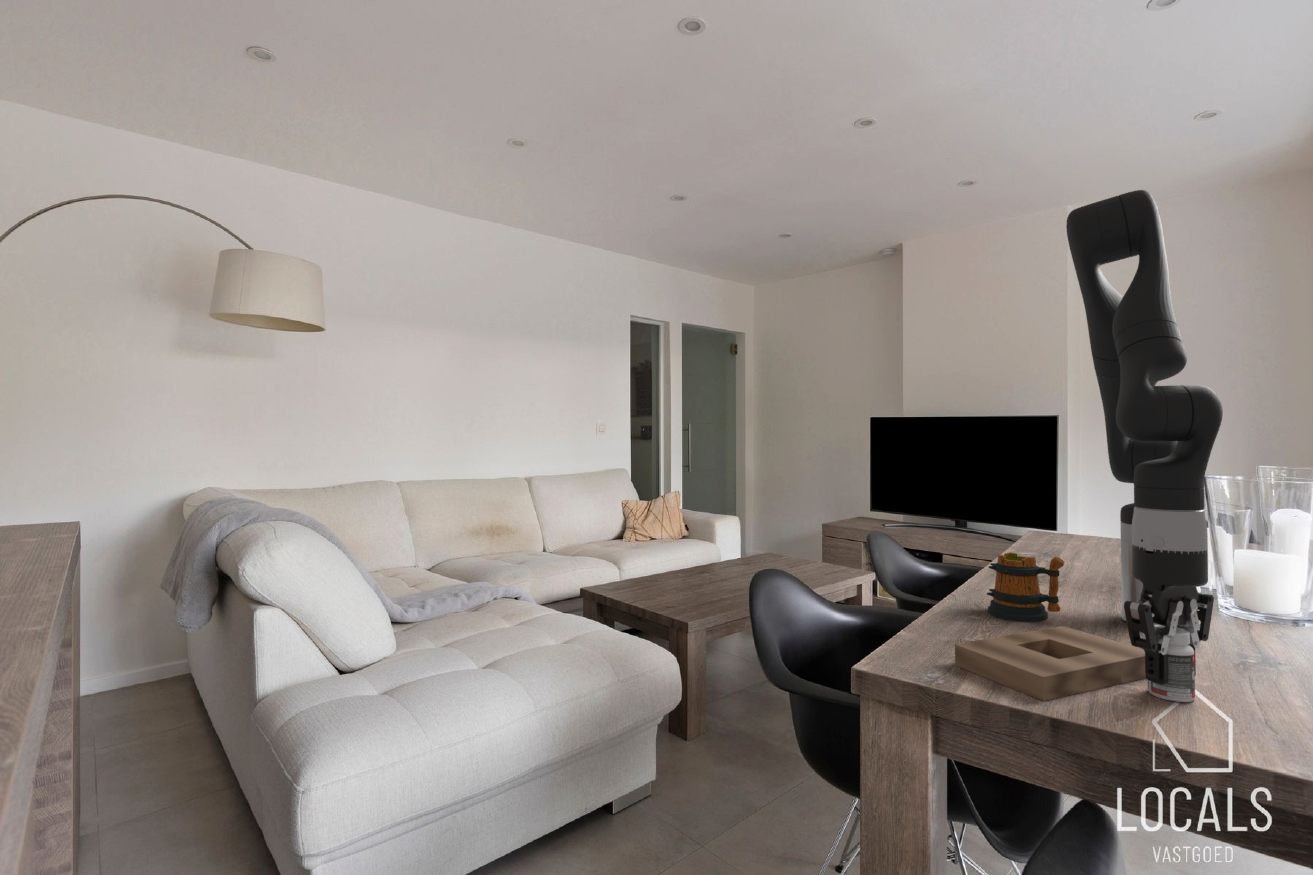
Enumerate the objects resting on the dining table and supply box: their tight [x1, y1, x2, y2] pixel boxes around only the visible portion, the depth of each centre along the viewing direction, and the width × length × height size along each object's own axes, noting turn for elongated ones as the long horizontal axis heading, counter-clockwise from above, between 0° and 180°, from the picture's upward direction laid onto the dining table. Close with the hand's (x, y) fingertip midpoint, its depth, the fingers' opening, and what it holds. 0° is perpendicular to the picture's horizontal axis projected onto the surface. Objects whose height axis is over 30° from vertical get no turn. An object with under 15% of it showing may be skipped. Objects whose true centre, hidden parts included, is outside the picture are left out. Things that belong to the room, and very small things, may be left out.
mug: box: [986, 551, 1065, 623], centre depth 119 cm, size 13×10×12 cm
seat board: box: [954, 625, 1147, 702], centre depth 92 cm, size 22×14×3 cm, turn 111°
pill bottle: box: [1146, 625, 1196, 703], centre depth 83 cm, size 5×5×8 cm
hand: (1170, 678), depth 83 cm, fingers closed on pill bottle, 4 cm apart
